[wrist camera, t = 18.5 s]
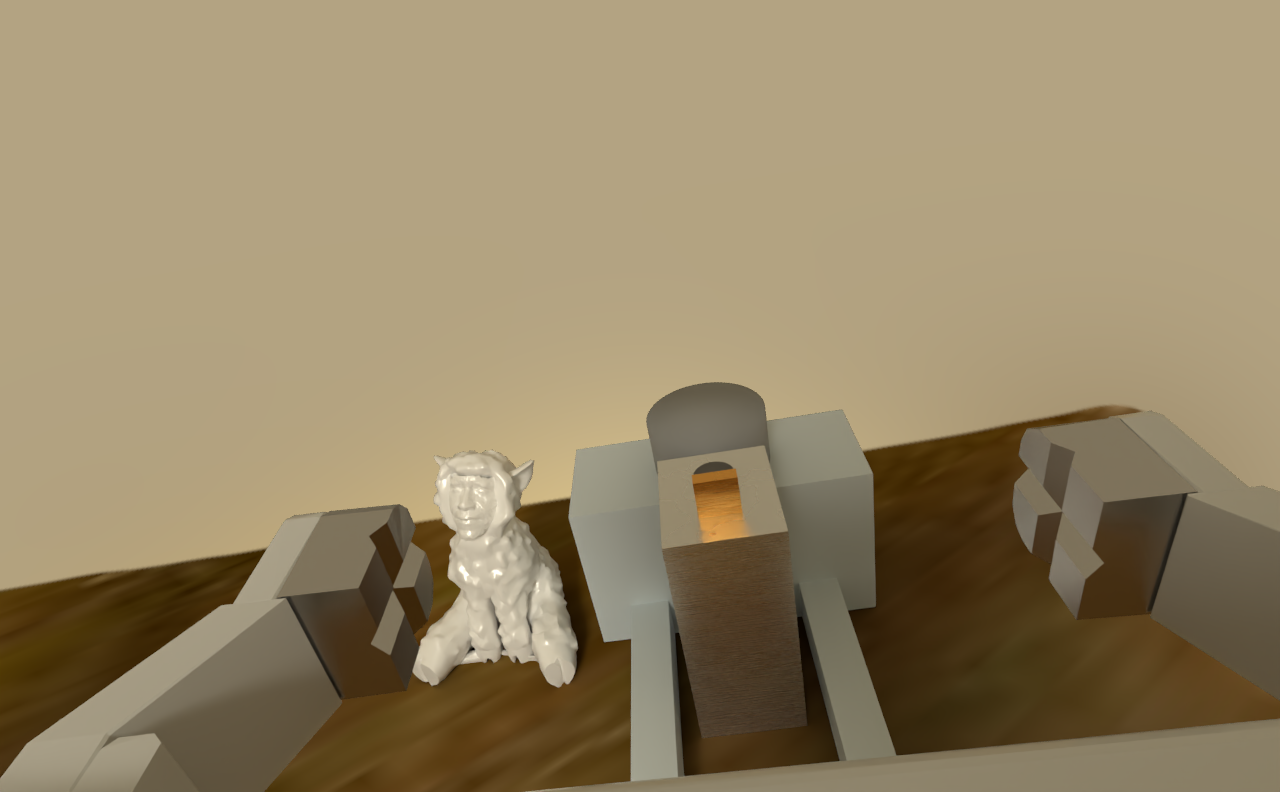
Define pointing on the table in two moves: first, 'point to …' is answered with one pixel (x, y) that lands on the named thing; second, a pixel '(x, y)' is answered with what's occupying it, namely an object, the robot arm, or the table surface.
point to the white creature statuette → (496, 576)
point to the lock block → (732, 590)
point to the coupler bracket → (819, 546)
